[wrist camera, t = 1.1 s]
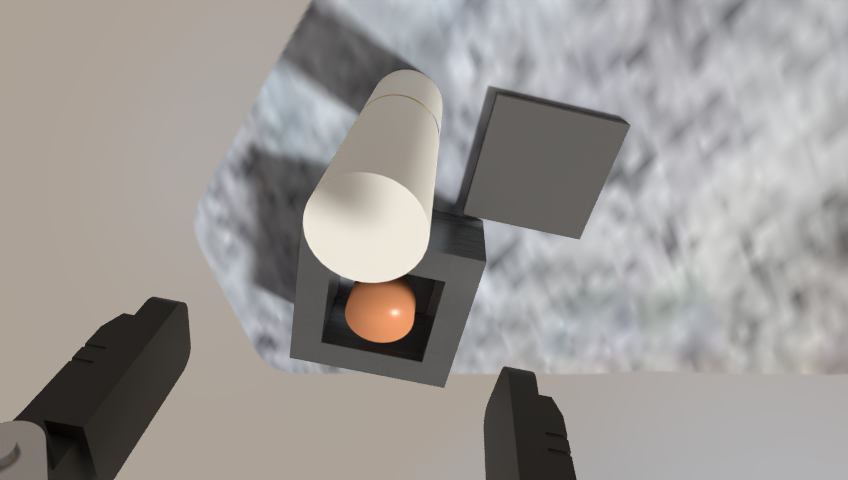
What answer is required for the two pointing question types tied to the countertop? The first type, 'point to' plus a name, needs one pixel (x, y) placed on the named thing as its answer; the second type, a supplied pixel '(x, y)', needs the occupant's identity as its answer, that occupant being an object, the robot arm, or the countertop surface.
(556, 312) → the countertop surface
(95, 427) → the robot arm
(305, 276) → the frame
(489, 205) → the pad
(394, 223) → the tube
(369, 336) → the orange dome
